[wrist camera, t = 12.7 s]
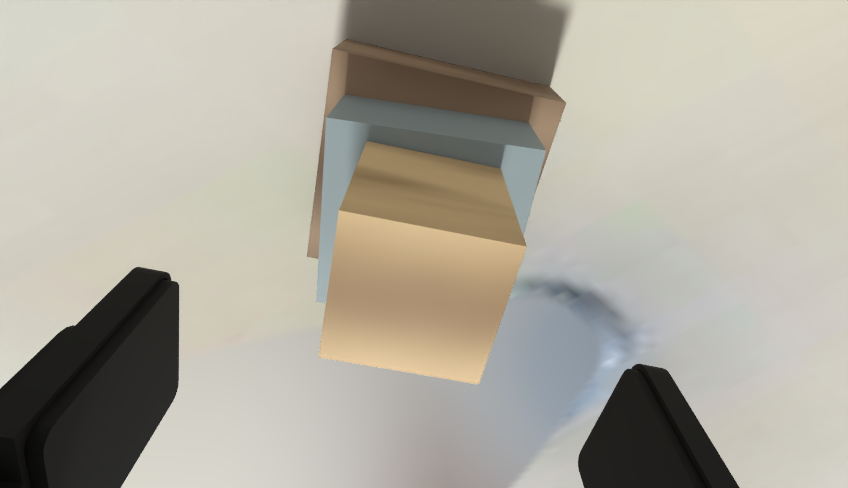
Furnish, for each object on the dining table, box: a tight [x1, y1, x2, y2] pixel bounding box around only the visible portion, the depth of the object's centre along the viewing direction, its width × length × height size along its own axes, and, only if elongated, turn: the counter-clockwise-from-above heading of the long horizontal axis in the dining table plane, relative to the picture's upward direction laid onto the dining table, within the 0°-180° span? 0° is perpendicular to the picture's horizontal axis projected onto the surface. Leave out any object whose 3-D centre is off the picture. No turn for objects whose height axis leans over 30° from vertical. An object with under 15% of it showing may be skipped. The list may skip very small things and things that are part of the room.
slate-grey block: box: [316, 95, 546, 303], centre depth 22 cm, size 8×8×4 cm
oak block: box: [319, 141, 527, 384], centre depth 17 cm, size 5×5×6 cm
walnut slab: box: [307, 39, 566, 259], centre depth 25 cm, size 10×10×4 cm
